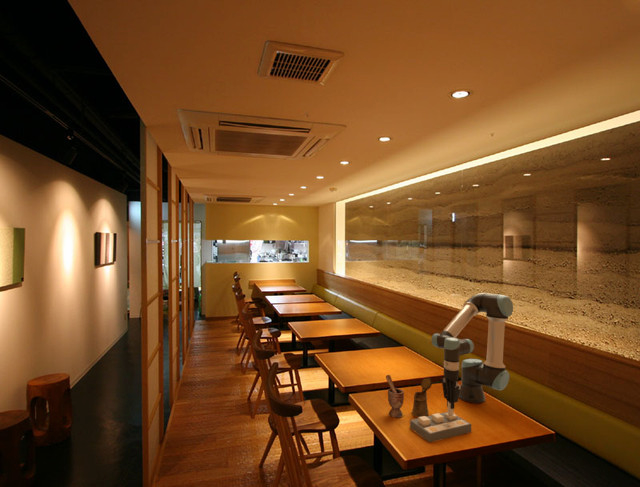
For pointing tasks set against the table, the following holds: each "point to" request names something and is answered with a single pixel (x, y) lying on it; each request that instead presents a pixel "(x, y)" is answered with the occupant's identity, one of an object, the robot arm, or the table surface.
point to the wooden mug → (421, 399)
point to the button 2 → (450, 416)
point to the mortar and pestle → (395, 399)
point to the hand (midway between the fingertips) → (450, 414)
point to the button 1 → (424, 421)
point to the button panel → (441, 428)
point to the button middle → (437, 418)
